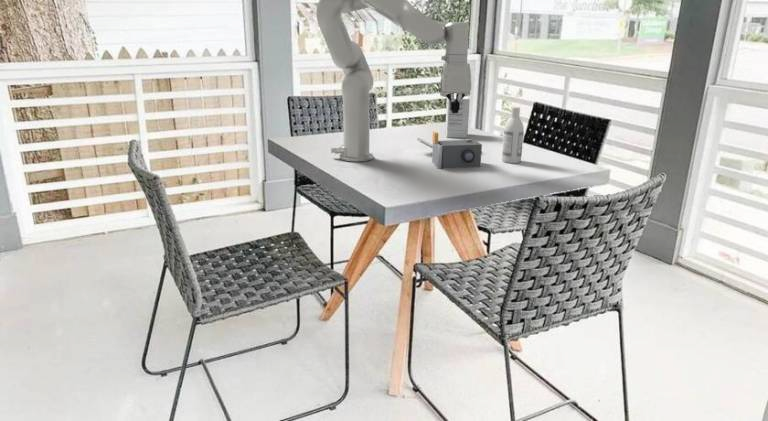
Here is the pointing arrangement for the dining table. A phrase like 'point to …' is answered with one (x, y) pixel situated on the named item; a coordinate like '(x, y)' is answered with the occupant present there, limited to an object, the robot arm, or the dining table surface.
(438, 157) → the side door
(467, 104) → the supplement box
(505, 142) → the bath foam
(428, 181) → the dining table surface
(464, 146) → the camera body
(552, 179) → the dining table surface
